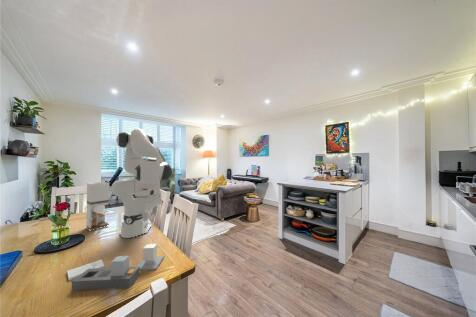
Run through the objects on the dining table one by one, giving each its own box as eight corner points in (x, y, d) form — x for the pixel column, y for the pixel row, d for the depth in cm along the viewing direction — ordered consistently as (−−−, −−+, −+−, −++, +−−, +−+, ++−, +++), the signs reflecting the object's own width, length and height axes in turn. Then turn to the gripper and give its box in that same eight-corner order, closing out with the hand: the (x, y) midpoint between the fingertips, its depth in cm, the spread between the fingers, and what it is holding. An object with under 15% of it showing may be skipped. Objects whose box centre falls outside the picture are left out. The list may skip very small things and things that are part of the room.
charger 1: (117, 270, 74) (117, 256, 74) (129, 269, 74) (129, 255, 74) (110, 276, 70) (111, 261, 70) (123, 275, 70) (123, 261, 70)
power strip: (88, 277, 75) (88, 267, 75) (139, 274, 76) (139, 265, 77) (71, 290, 67) (71, 279, 67) (129, 287, 68) (129, 277, 69)
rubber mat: (144, 258, 89) (144, 257, 89) (163, 257, 90) (163, 256, 90) (134, 270, 79) (134, 269, 79) (156, 269, 80) (156, 268, 80)
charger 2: (146, 260, 86) (146, 244, 87) (156, 259, 87) (156, 243, 87) (142, 264, 82) (142, 248, 83) (153, 264, 83) (153, 247, 83)
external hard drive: (67, 274, 78) (101, 262, 87) (68, 282, 73) (104, 268, 82) (67, 270, 78) (101, 258, 87) (68, 278, 73) (104, 265, 82)
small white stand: (90, 231, 125) (90, 183, 126) (86, 228, 132) (87, 182, 133) (108, 226, 135) (109, 182, 135) (104, 223, 141) (104, 181, 142)
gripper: (152, 186, 95) (152, 211, 95) (132, 193, 75) (132, 225, 75) (164, 186, 96) (164, 211, 96) (147, 193, 75) (147, 224, 75)
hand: (150, 217), depth 85 cm, fingers open, 8 cm apart
